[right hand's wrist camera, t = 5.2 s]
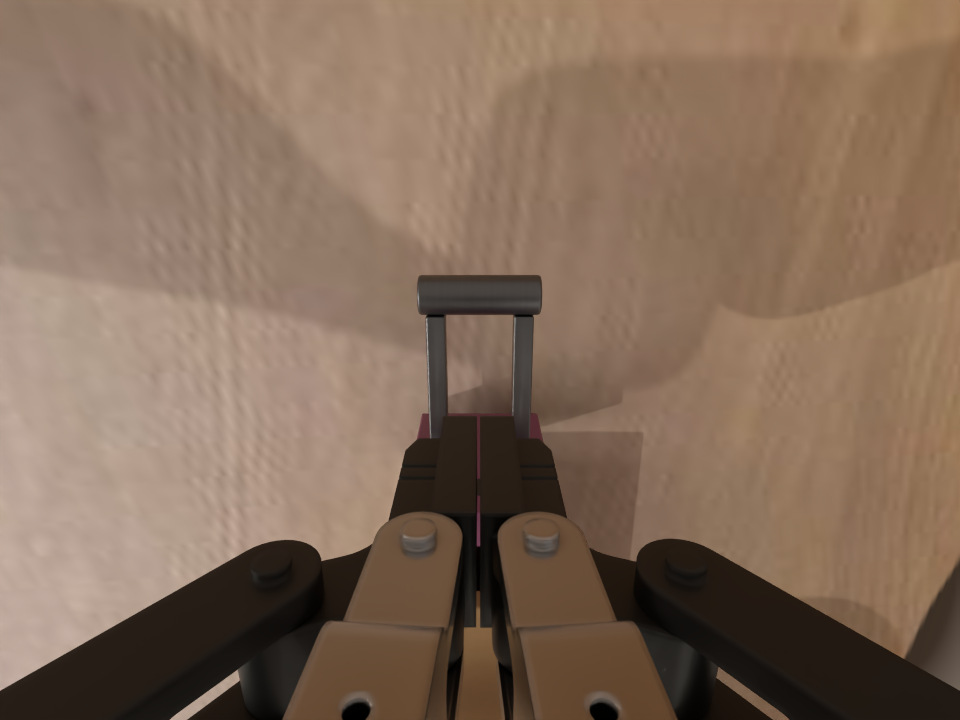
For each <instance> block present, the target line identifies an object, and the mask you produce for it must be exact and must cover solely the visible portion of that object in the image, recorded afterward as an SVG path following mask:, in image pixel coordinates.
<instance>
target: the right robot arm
mask: <svg viewBox="0 0 960 720" xmlns="http://www.w3.org/2000/svg"><path fill="white" fill-rule="evenodd" d="M476 591H477V416H443V423H442V430H441V438H418V439H417V440H416V441H415V442H414V443H413V444H412V445H411V446H410V447H409V448H408V449H407V450H406V451H405V455H404V459H403V463H402V468H401V472H400V476H399V480H398V484H397V488H396V492H395V496H394V501H393V505H392V509H391V513H390V517H389V521H388V522H386V523H385V524H384V525H383V526H382V527H381V528H380V529H379V531H378V532H377V534H376V536H375V539H374V541H373V544H371V545H370V546H368V547H367V548H365V549H363V550H361V551H358V552H356V553H353V554H350V555H346V556H343V557H338V558H334V559H329V560H325V561H321V557H320V555H319V553H318V551H317V550H316V549H315V548H314V547H312V546H311V545H309V544H307V543H304V542H301V541H295V540H280V541H273V542H268V543H265V544H261V545H259V546H256V547H254V548H252V549H250V550H248V551H246V552H244V553H242V554H240V555H239V556H237V557H235V558H233V559H232V560H230V561H228V562H226V563H225V564H223V565H221V566H219V567H218V568H216V569H214V570H212V571H210V572H209V573H207V574H205V575H203V576H202V577H200V578H198V579H196V580H195V581H193V582H191V583H189V584H188V585H186V586H184V587H182V588H181V589H179V590H177V591H175V592H173V593H172V594H170V595H168V596H166V597H165V598H163V599H161V600H159V601H158V602H156V603H154V604H152V605H151V606H149V607H147V608H145V609H144V610H142V611H140V612H138V613H137V614H135V615H133V616H131V617H129V618H128V619H126V620H124V621H122V622H121V623H119V624H117V625H115V626H114V627H112V628H110V629H108V630H107V631H105V632H103V633H101V634H100V635H98V636H96V637H94V638H92V639H91V640H89V641H87V642H85V643H84V644H82V645H80V646H78V647H77V648H75V649H73V650H71V651H70V652H68V653H66V654H64V655H63V656H61V657H59V658H57V659H56V660H54V661H52V662H50V663H48V664H47V665H45V666H43V667H41V668H40V669H38V670H36V671H34V672H33V673H31V674H29V675H27V676H26V677H24V678H22V679H20V680H19V681H17V682H15V683H13V684H11V685H10V686H8V687H6V688H4V689H3V690H1V691H0V720H170V719H171V718H172V717H173V716H174V715H176V714H177V713H178V712H180V711H181V710H182V709H184V708H185V707H186V706H188V705H189V704H191V703H192V702H193V701H195V700H196V699H198V698H199V697H200V696H202V695H203V694H204V693H206V692H207V691H209V690H210V689H211V688H213V687H214V686H215V685H217V684H218V683H220V682H221V681H222V680H224V679H225V678H227V677H228V676H229V675H231V674H232V673H233V672H235V671H236V670H238V673H239V678H240V681H239V682H238V683H236V684H235V685H234V686H232V687H231V688H229V689H228V690H227V691H225V692H224V693H223V694H221V695H220V696H219V697H217V698H216V699H215V700H213V701H212V702H211V703H209V704H208V705H207V706H205V707H204V708H203V709H201V710H200V711H198V712H197V713H196V714H194V715H193V716H192V717H190V718H189V719H188V720H458V717H459V708H460V700H461V691H462V683H463V675H464V627H476ZM480 628H492V646H493V651H494V654H495V656H496V675H497V683H498V691H499V700H500V708H501V717H502V720H772V719H771V718H770V717H768V716H767V715H766V714H764V713H763V712H762V711H760V710H759V709H757V708H756V707H755V706H753V705H752V704H751V703H749V702H748V701H747V700H745V699H744V698H743V697H741V696H740V695H739V694H737V693H736V692H735V691H733V690H732V689H731V688H729V687H728V686H726V685H725V684H724V683H722V682H721V681H720V680H718V679H717V678H716V676H717V671H718V667H720V668H721V669H722V670H724V671H725V672H727V673H728V674H729V675H731V676H732V677H733V678H735V679H736V680H738V681H739V682H740V683H742V684H743V685H744V686H746V687H747V688H749V689H750V690H751V691H753V692H754V693H756V694H757V695H758V696H760V697H761V698H762V699H764V700H765V701H767V702H768V703H769V704H771V705H772V706H773V707H775V708H776V709H778V710H779V711H780V712H782V713H783V714H784V715H785V716H786V717H787V718H788V719H789V720H960V691H959V690H957V689H956V688H954V687H952V686H950V685H948V684H947V683H945V682H943V681H941V680H940V679H938V678H936V677H934V676H933V675H931V674H929V673H927V672H926V671H924V670H922V669H920V668H919V667H917V666H915V665H913V664H911V663H910V662H908V661H906V660H904V659H903V658H901V657H899V656H897V655H896V654H894V653H892V652H890V651H889V650H887V649H885V648H883V647H882V646H880V645H878V644H876V643H875V642H873V641H871V640H869V639H867V638H866V637H864V636H862V635H860V634H859V633H857V632H855V631H853V630H852V629H850V628H848V627H846V626H845V625H843V624H841V623H839V622H838V621H836V620H834V619H832V618H831V617H829V616H827V615H825V614H823V613H822V612H820V611H818V610H816V609H815V608H813V607H811V606H809V605H808V604H806V603H804V602H802V601H801V600H799V599H797V598H795V597H794V596H792V595H790V594H788V593H786V592H785V591H783V590H781V589H779V588H778V587H776V586H774V585H772V584H771V583H769V582H767V581H765V580H764V579H762V578H760V577H758V576H757V575H755V574H753V573H751V572H750V571H748V570H746V569H744V568H742V567H741V566H739V565H737V564H735V563H734V562H732V561H730V560H728V559H727V558H725V557H723V556H721V555H720V554H718V553H716V552H714V551H713V550H711V549H709V548H707V547H705V546H702V545H700V544H697V543H694V542H690V541H686V540H680V539H662V540H657V541H653V542H651V543H649V544H647V545H645V546H644V547H643V548H642V549H641V550H640V551H639V553H638V556H637V561H636V562H635V561H630V560H626V559H621V558H617V557H612V556H609V555H605V554H602V553H600V552H597V551H595V550H593V549H591V548H589V547H588V544H587V541H586V539H585V536H584V534H583V532H582V531H581V529H580V528H579V527H578V526H577V525H576V524H575V523H574V522H572V521H570V520H569V519H567V516H566V512H565V507H564V503H563V499H562V494H561V490H560V486H559V482H558V480H557V473H556V469H555V464H554V460H553V456H552V451H551V450H550V449H549V448H548V447H547V446H546V445H545V444H544V443H543V442H542V441H541V440H540V439H539V438H516V431H515V423H514V416H480Z"/></svg>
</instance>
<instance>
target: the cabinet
mask: <svg viewBox="0 0 960 720" xmlns="http://www.w3.org/2000/svg"><path fill="white" fill-rule="evenodd" d="M458 720H502V717H501V708H500V700H499V691H498V683H497V675H496V656H495V654H494V651H493V646H492V628H480V591H476V627H464V675H463V683H462V691H461V700H460V708H459V717H458Z"/></svg>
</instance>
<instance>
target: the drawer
mask: <svg viewBox="0 0 960 720" xmlns="http://www.w3.org/2000/svg"><path fill="white" fill-rule="evenodd" d="M417 305H418V311H419V314H421V315H426V346H427V374H428V403H429V414H422V418H421V423H420V427H419V432H418V437H417V439H418V438H441V430H442V423H443V416H477V591H480V416H514V423H515V431H516V438H539V439H540V440H541V441H542V442H543V439H542V434H541V430H540V425H539V420H538V415H537V414H531V387H532V357H533V327H534V317H533V315H538V314H540V312H541V307H542V281H541V277H540V276H539V275H421V276H419V278H418V282H417ZM446 315H513V349H512V398H511V414H448V382H447V336H446Z"/></svg>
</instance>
